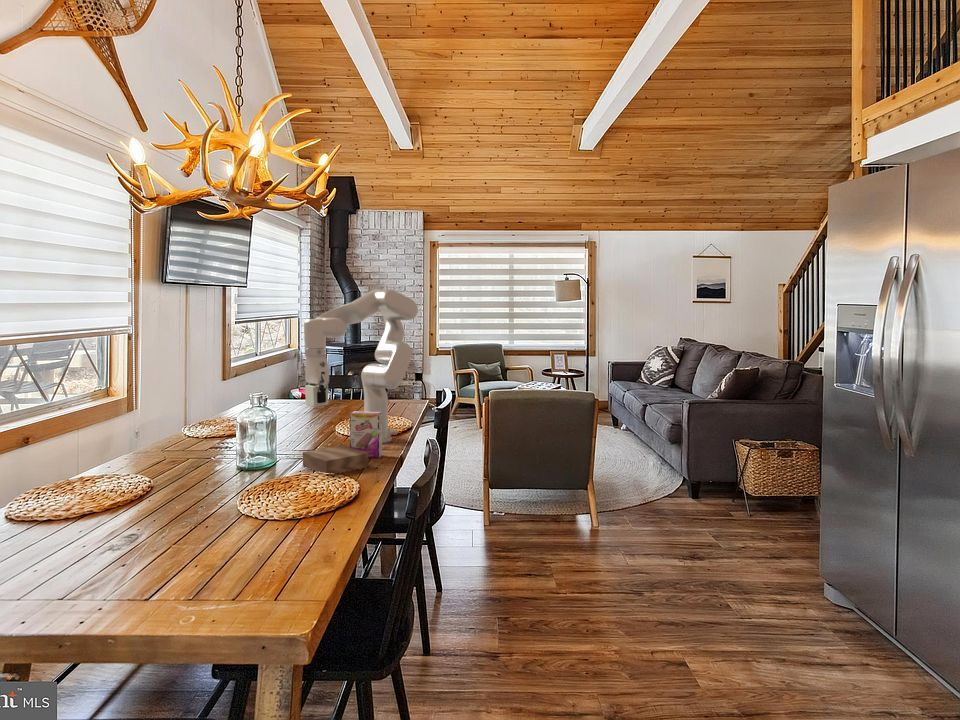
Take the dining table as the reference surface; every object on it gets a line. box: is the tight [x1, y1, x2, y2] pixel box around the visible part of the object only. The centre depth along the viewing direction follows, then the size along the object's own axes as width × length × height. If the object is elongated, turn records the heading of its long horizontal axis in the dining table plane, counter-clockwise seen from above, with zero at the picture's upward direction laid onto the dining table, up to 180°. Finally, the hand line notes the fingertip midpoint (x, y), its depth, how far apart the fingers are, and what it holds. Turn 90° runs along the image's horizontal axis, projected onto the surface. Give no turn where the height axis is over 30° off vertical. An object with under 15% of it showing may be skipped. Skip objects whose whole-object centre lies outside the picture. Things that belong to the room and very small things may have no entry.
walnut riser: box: [302, 444, 369, 475], centre depth 216 cm, size 16×16×5 cm
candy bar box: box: [349, 410, 383, 459], centre depth 231 cm, size 11×5×16 cm, turn 84°
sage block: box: [304, 384, 330, 407], centre depth 232 cm, size 6×6×7 cm
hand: (317, 401), depth 232 cm, fingers closed on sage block, 6 cm apart
